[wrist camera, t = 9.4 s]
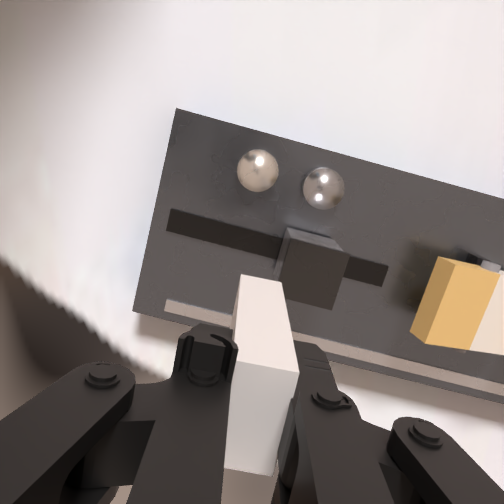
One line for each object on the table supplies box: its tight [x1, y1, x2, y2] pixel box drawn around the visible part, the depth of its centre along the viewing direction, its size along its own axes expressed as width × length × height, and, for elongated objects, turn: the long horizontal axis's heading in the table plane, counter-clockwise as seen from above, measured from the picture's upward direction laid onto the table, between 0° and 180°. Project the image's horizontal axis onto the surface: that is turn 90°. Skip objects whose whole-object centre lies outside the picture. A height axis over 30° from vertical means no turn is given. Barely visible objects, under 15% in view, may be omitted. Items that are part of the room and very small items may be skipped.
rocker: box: [410, 256, 504, 355], centre depth 26 cm, size 6×6×2 cm
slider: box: [273, 227, 350, 311], centre depth 25 cm, size 3×3×4 cm
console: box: [132, 108, 504, 404], centre depth 29 cm, size 31×13×4 cm, turn 75°
